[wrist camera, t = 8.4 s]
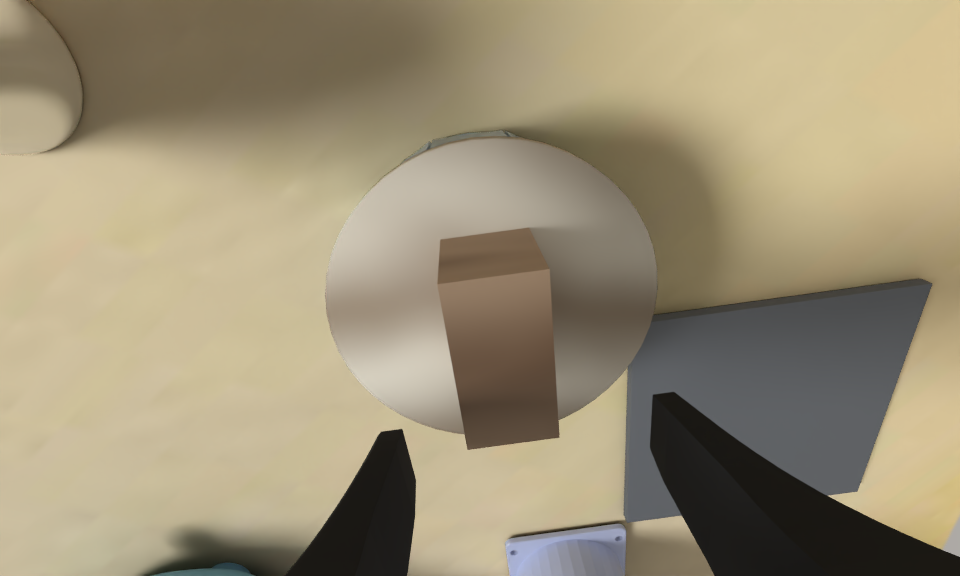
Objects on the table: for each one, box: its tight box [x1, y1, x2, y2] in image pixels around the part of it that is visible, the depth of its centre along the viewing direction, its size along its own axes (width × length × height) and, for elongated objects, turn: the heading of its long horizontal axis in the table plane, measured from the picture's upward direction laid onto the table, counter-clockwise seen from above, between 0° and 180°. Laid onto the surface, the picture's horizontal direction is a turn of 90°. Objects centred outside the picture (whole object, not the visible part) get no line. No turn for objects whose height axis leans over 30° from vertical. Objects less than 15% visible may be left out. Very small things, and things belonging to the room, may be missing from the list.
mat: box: [624, 279, 932, 523], centre depth 26 cm, size 15×15×1 cm
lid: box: [325, 136, 657, 450], centre depth 15 cm, size 12×12×4 cm
